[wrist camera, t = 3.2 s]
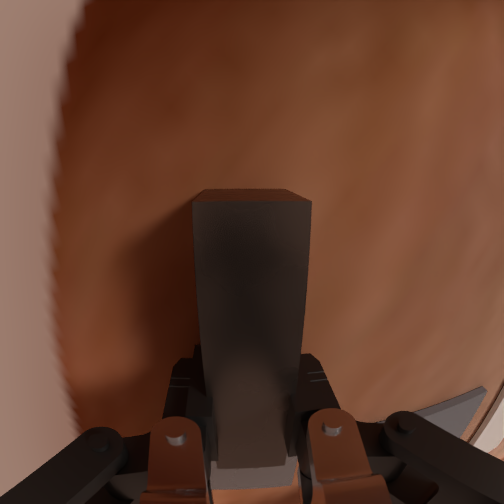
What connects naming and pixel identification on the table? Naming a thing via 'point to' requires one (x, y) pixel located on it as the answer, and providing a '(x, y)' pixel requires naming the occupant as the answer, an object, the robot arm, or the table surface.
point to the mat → (454, 411)
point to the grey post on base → (251, 325)
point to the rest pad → (491, 427)
